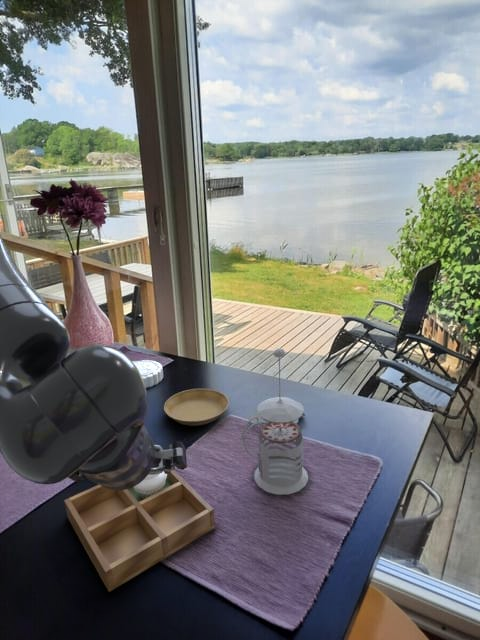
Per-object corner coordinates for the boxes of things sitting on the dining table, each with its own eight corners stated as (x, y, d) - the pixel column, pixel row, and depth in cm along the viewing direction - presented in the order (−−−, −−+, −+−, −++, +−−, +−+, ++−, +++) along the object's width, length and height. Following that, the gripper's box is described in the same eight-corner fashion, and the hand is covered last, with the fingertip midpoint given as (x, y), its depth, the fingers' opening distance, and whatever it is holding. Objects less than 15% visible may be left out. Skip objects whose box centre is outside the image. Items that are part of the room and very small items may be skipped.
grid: (109, 592, 59) (105, 572, 58) (67, 518, 72) (63, 500, 71) (215, 527, 69) (214, 509, 68) (162, 472, 82) (160, 456, 81)
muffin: (168, 479, 79) (164, 446, 77) (169, 503, 73) (165, 468, 71) (133, 484, 78) (128, 450, 76) (131, 509, 72) (125, 473, 70)
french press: (315, 490, 76) (318, 357, 68) (249, 500, 74) (244, 365, 66) (299, 455, 85) (299, 335, 77) (240, 464, 83) (234, 341, 75)
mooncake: (165, 368, 125) (164, 357, 124) (160, 388, 114) (159, 376, 112) (123, 371, 125) (121, 359, 123) (113, 391, 113) (112, 378, 112)
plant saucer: (187, 393, 111) (186, 383, 110) (240, 404, 104) (239, 394, 104) (151, 423, 98) (150, 412, 97) (209, 437, 92) (208, 427, 91)
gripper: (180, 408, 50) (185, 437, 64) (48, 421, 48) (85, 448, 62) (184, 478, 46) (189, 491, 61) (43, 495, 45) (83, 505, 59)
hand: (136, 469), depth 62 cm, fingers open, 8 cm apart
